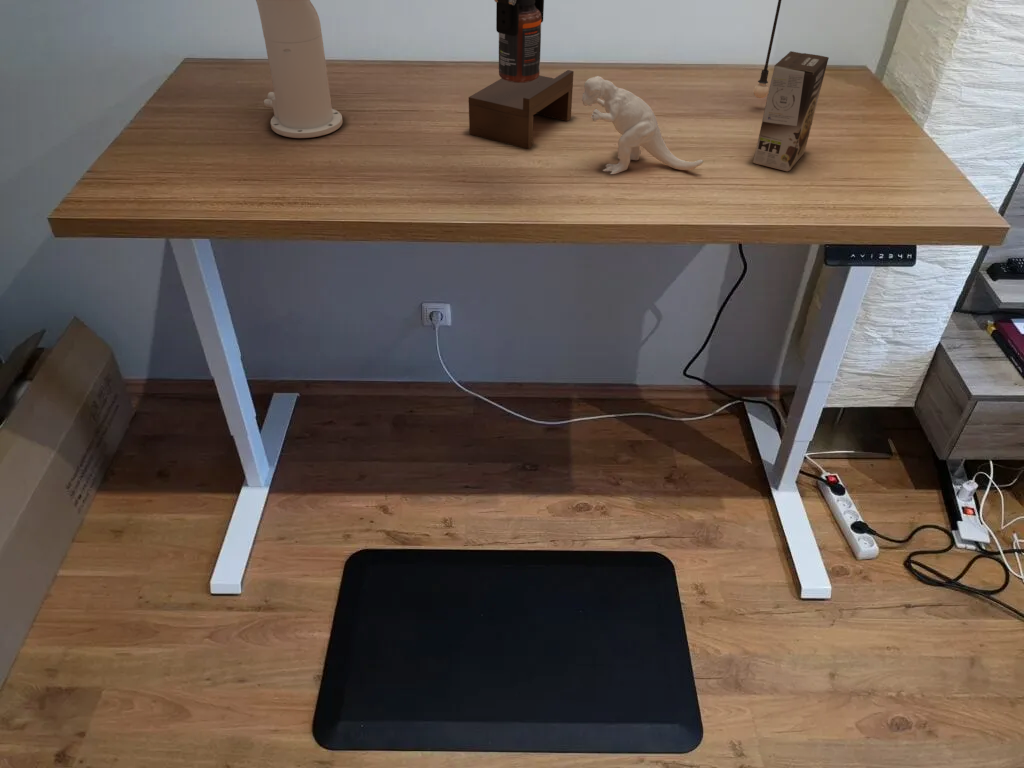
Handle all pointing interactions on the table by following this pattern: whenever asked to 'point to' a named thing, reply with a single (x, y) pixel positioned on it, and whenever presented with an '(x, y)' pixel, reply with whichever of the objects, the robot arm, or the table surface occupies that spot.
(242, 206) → the table surface
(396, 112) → the table surface
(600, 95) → the dinosaur figurine
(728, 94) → the table surface
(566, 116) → the stand
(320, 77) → the robot arm
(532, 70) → the supplement bottle
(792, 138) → the coffee box
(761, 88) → the light fixture
